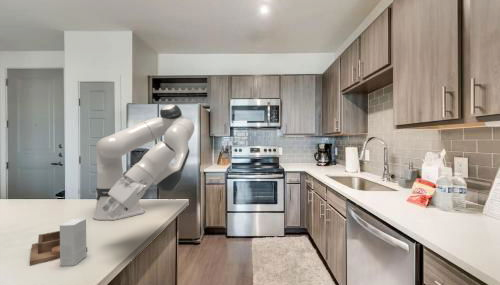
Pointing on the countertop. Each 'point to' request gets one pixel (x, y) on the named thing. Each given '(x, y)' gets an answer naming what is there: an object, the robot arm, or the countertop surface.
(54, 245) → the organiser tray
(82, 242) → the skincare box
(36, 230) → the countertop surface
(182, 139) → the robot arm
